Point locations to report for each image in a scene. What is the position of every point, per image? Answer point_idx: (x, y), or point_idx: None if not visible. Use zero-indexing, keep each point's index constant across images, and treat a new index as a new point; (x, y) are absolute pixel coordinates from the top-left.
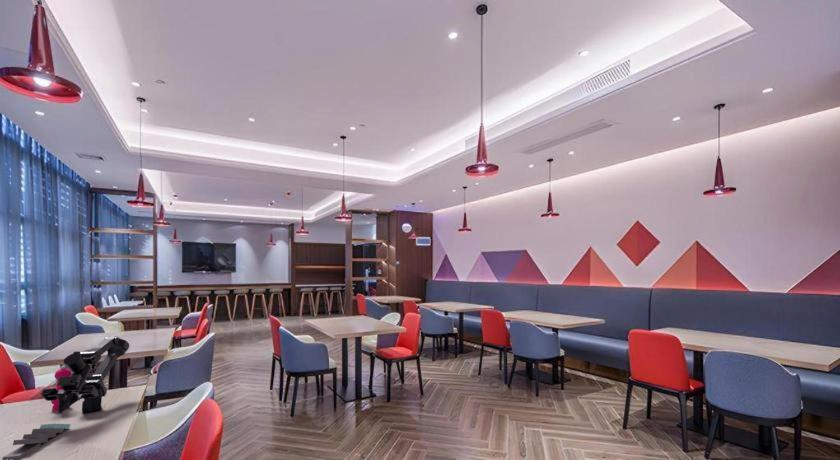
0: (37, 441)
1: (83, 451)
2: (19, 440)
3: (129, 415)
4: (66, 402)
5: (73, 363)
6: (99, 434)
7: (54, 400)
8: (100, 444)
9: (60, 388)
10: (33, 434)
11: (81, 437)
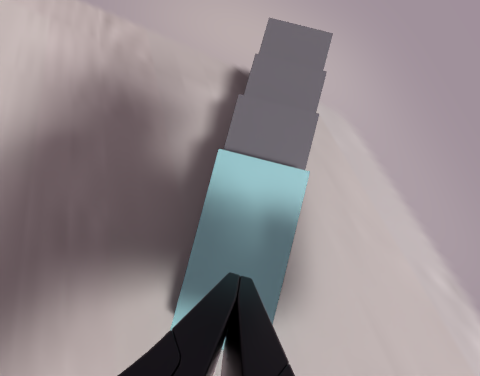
0: None
1: (89, 10)
2: (309, 29)
3: None
4: (170, 345)
5: None
6: (22, 130)
7: None
8: (34, 33)
9: None
10: (281, 62)
11: (99, 132)
